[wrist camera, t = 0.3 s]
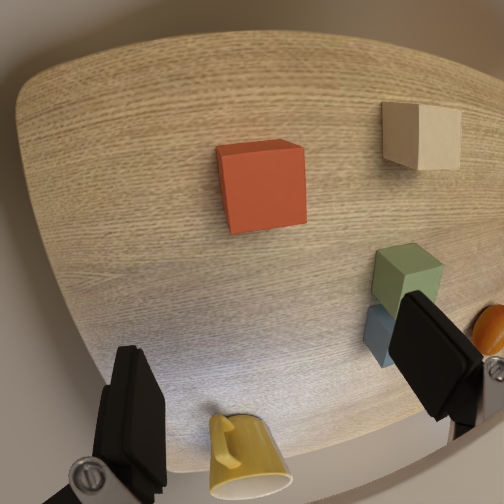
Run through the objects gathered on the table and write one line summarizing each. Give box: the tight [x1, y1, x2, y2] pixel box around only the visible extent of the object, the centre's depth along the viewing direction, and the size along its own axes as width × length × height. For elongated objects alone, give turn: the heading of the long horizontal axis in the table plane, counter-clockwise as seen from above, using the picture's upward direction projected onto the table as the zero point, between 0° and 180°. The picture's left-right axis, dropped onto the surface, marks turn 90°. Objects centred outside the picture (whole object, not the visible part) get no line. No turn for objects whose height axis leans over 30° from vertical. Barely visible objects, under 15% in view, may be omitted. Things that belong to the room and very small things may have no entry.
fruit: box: [472, 304, 504, 355], centre depth 36 cm, size 8×8×8 cm
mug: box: [209, 414, 293, 500], centre depth 32 cm, size 14×10×10 cm
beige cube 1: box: [382, 102, 462, 171], centre depth 21 cm, size 5×5×5 cm
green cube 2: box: [372, 243, 444, 320], centre depth 27 cm, size 5×5×5 cm
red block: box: [216, 139, 307, 234], centre depth 20 cm, size 5×5×5 cm
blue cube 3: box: [363, 304, 396, 368], centre depth 30 cm, size 5×5×5 cm
